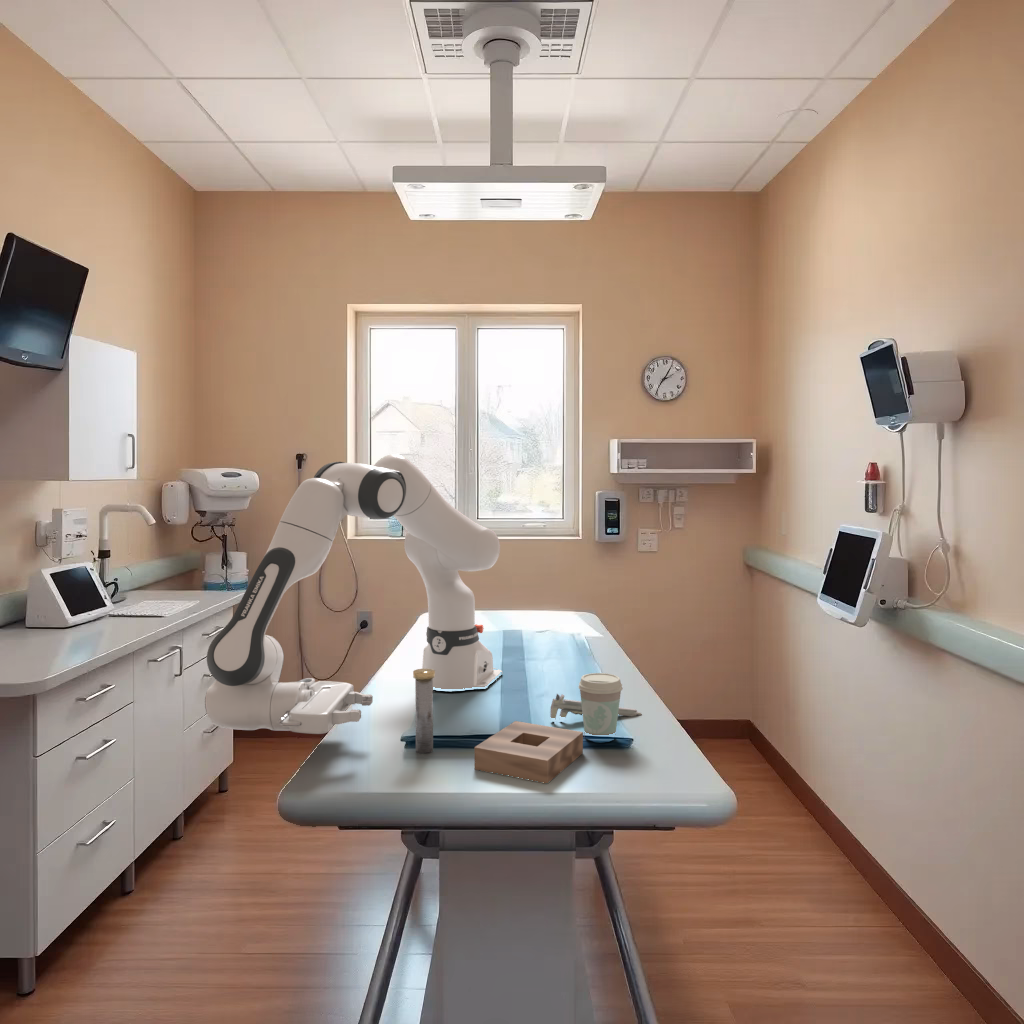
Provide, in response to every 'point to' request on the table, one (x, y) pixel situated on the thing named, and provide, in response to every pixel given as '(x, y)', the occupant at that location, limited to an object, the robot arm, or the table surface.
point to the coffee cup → (600, 702)
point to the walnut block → (529, 751)
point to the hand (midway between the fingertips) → (366, 707)
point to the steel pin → (424, 709)
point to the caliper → (580, 708)
